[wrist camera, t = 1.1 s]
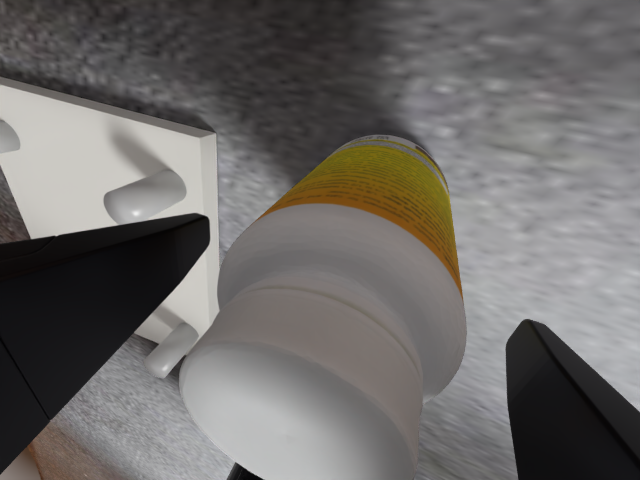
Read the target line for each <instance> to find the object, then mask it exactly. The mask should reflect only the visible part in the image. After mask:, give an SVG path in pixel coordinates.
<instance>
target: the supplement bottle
mask: <svg viewBox="0 0 640 480" xmlns="http://www.w3.org/2000/svg"><path fill="white" fill-rule="evenodd" d="M217 298H218V305H219V310H220V311H219V313H218V314H217V316H216V317H215V319H214V321H213V323H212V325H211V326H210V327H209V329H208V330H207V331H206V332H205V333H204V335H203V336H202V337H201V338H200V339H199V341H198V342H197V343H196V344H195V345H194V346H193V348H192V349H191V350H190V351H189V353H188V354H187V356H186V357H185V359H184V361H183V363H182V365H181V368H180V372H179V388H180V394H181V397H182V399H183V402H184V404H185V407H186V409H187V411H188V412H189V414H190V416H191V418H192V419H193V421H194V422H195V423H196V425H197V426H198V427H199V428H200V430H201V431H202V432H203V433H204V434H205V435H206V436H207V437H208V438H209V440H210V441H211V442H212V443H213V444H214V445H215V446H216V447H218V448H219V449H220V450H221V451H222V452H223V453H225V454H226V455H227V456H228V457H230V458H231V459H232V460H234V461H235V462H236V463H238V464H239V465H241V466H242V467H244V468H245V469H247V470H248V471H250V472H251V473H253V474H255V475H257V476H259V477H260V478H262V479H264V480H413V478H414V476H415V473H416V469H417V465H418V447H419V420H420V415H421V412H422V407H423V404H424V403H426V402H427V401H429V400H431V399H432V398H434V397H435V396H436V395H438V394H439V393H440V392H441V391H442V390H443V389H444V388H445V387H446V386H447V385H448V384H449V382H450V381H451V380H452V378H453V377H454V375H455V374H456V372H457V371H458V369H459V366H460V364H461V362H462V359H463V355H464V352H465V346H466V335H467V330H466V317H465V310H464V303H463V295H462V287H461V281H460V273H459V266H458V258H457V250H456V243H455V235H454V228H453V220H452V213H451V205H450V198H449V190H448V186H447V183H446V180H445V177H444V175H443V172H442V171H441V169H440V167H439V165H438V164H437V163H436V161H435V160H434V159H433V158H432V157H431V156H430V155H429V154H428V153H427V152H426V151H425V150H424V149H422V148H421V147H420V146H418V145H416V144H415V143H413V142H411V141H408V140H406V139H403V138H400V137H396V136H391V135H370V136H364V137H361V138H357V139H354V140H352V141H350V142H348V143H346V144H344V145H343V146H341V147H340V148H338V149H337V150H335V151H334V152H333V153H332V154H331V155H329V156H328V157H327V158H326V159H325V160H324V161H323V162H322V163H321V164H319V165H318V166H317V167H316V168H315V169H314V170H313V171H311V172H310V173H309V174H308V175H307V176H306V177H305V178H303V179H302V180H301V181H300V182H299V183H297V184H296V185H295V186H294V187H293V188H292V189H291V190H289V191H288V192H287V193H286V194H285V195H284V196H283V197H282V198H281V199H279V200H278V201H277V202H276V203H275V204H274V205H273V206H272V207H271V208H269V209H268V210H267V211H266V212H265V213H264V214H263V215H262V216H260V217H259V218H258V219H257V220H256V221H255V222H254V223H252V224H251V225H250V226H249V227H248V228H247V229H246V230H245V231H244V232H243V233H242V234H241V235H240V236H239V237H238V238H237V239H236V241H235V242H234V243H233V244H232V246H231V247H230V249H229V250H228V252H227V254H226V256H225V258H224V260H223V262H222V265H221V268H220V271H219V277H218V284H217Z"/></svg>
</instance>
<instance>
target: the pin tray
mask: <svg viewBox="0 0 640 480" xmlns="http://www.w3.org/2000/svg"><path fill="white" fill-rule="evenodd" d="M0 165H1V168H2V170H3V173H4V175H5V177H6V180H7V182H8V184H9V187H10V189H11V192H12V194H13V196H14V199H15V201H16V204H17V206H18V208H19V211H20V213H21V216H22V218H23V220H24V223H25V225H26V228H27V230H28V232H29V235H30V237H31V239H36V238H42V237H48V236H58V235H61V234H67V233H73V232H79V231H85V230H91V229H97V228H103V227H110V226H116V225H122V224H128V223H134V222H140V221H146V220H153V219H159V218H165V217H171V216H177V215H183V214H189V213H199V214H202V215H205V216H207V217H208V218H209V220H210V244H209V246H208V248H207V249H206V250H205V252H204V253H203V254H202V255H201V257H200V258H199V259H198V261H197V262H196V263H195V265H194V266H193V267H192V269H191V270H190V271H189V273H188V274H187V275H186V277H185V278H184V279H183V280H182V281H181V283H180V284H179V285H178V286H177V287H176V288H175V289H174V291H173V292H172V293H171V294H170V295H169V296H168V297H167V298H166V299H165V300H164V301H163V302H162V303H161V304H160V305H159V306H158V308H157V309H156V310H155V311H154V312H153V313H152V314H151V315H150V316H149V317H148V318H147V319H146V320H145V321H144V322H143V323H142V324H141V326H140V327H139V328H138V329H137V330H136V331H135V332H134V333H135V334H137V335H140V336H142V337H144V338H147V339H149V340H152V341H154V342H156V343H159V345H158V346H157V347H156V348H155V349H154V350H153V351H152V352H151V353H150V354H149V355H148V356H147V357H146V358H145V359H144V361H143V364H144V366H145V368H146V369H147V370H148V371H149V372H150V373H151V374H152V375H154V376H156V377H159V378H165V377H166V376H167V374H168V373H169V372H170V371H171V370H172V369H173V367H174V366H175V365H176V364H177V363H178V362H179V360H180V359H181V358H182V357H183V356H184V355H187V354H188V353H189V351H190V350H191V349H192V348H193V346H194V345H195V344H196V343H197V342H198V341H199V339H200V338H201V337H202V336H203V335H204V333H205V332H206V331H207V330H208V329H209V327H210V326H211V325H212V323H213V321H214V319H215V317H216V316H217V314H218V313H219V311H220V310H219V305H218V298H217V284H218V277H219V230H218V187H217V145H216V133H214V132H210V131H206V130H202V129H199V128H195V127H191V126H187V125H183V124H179V123H176V122H172V121H168V120H164V119H160V118H157V117H153V116H149V115H145V114H141V113H137V112H134V111H130V110H126V109H122V108H118V107H114V106H111V105H107V104H103V103H99V102H95V101H92V100H88V99H84V98H80V97H76V96H72V95H69V94H65V93H61V92H57V91H53V90H50V89H46V88H42V87H38V86H34V85H30V84H27V83H23V82H19V81H15V80H11V79H8V78H4V77H0Z"/></svg>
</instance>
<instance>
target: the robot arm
mask: <svg viewBox="0 0 640 480" xmlns="http://www.w3.org/2000/svg"><path fill="white" fill-rule="evenodd" d="M209 244H210V220H209V218H208V217H207V216H205V215H202V214H199V213H189V214H183V215H177V216H171V217H165V218H159V219H153V220H146V221H140V222H134V223H128V224H122V225H116V226H110V227H103V228H97V229H91V230H85V231H79V232H73V233H67V234H61V235H58V236H48V237H42V238H36V239H29V240H22V241H16V242H9V243H2V244H0V474H1V473H2V472H3V471H4V470H5V469H6V468H7V467H8V466H9V465H10V464H11V463H12V461H13V460H14V459H15V458H16V457H17V456H18V455H19V454H20V453H21V452H22V451H23V450H24V449H25V448H26V447H27V446H28V445H29V444H30V442H31V441H32V440H33V439H34V438H35V437H36V436H37V435H38V434H39V433H40V432H41V431H42V430H43V429H44V428H45V427H46V426H47V424H48V423H49V422H50V420H51V419H53V418H54V417H55V416H56V415H57V414H58V412H59V411H60V410H61V409H62V408H63V407H64V406H65V405H66V404H67V403H68V402H69V401H70V400H71V399H72V398H73V397H74V396H75V394H76V393H77V392H78V391H79V390H80V389H81V388H82V387H83V386H84V385H85V384H86V383H87V382H88V381H89V380H90V379H91V377H92V376H93V375H94V374H95V373H96V372H97V371H98V370H99V369H100V368H101V367H102V366H103V365H104V364H105V363H106V362H107V361H108V359H109V358H110V357H111V356H112V355H113V354H114V353H115V352H116V351H117V350H118V349H119V348H120V347H121V346H122V345H123V344H124V343H125V341H126V340H127V339H128V338H129V337H130V336H131V335H132V334H133V333H134V332H135V331H136V330H137V329H138V328H139V327H140V326H141V324H142V323H143V322H144V321H145V320H146V319H147V318H148V317H149V316H150V315H151V314H152V313H153V312H154V311H155V310H156V309H157V308H158V306H159V305H160V304H161V303H162V302H163V301H164V300H165V299H166V298H167V297H168V296H169V295H170V294H171V293H172V292H173V291H174V289H175V288H176V287H177V286H178V285H179V284H180V283H181V281H182V280H183V279H184V278H185V277H186V275H187V274H188V273H189V271H190V270H191V269H192V267H193V266H194V265H195V263H196V262H197V261H198V259H199V258H200V257H201V255H202V254H203V253H204V252H205V250H206V249H207V248H208V246H209ZM506 377H507V403H508V412H509V419H510V426H511V432H512V439H513V446H514V452H515V459H516V466H517V472H518V479H519V480H640V412H639V411H638V410H637V409H636V408H635V407H634V406H633V405H632V404H630V403H629V402H628V401H627V400H626V399H625V398H624V397H623V396H622V395H621V394H620V393H619V392H617V391H616V390H615V389H614V388H613V387H612V386H611V385H610V384H609V383H608V382H607V381H606V380H604V379H603V378H602V377H601V376H600V375H599V374H598V373H597V372H596V371H595V370H594V369H593V368H591V367H590V366H589V365H588V364H587V363H586V362H585V361H584V360H583V359H582V358H581V357H580V356H578V355H577V354H576V353H575V352H574V351H573V350H572V349H571V348H570V347H569V346H568V345H567V344H565V343H564V342H563V341H562V340H561V339H560V338H559V337H558V336H557V335H556V334H555V333H554V332H552V331H551V330H550V329H549V328H548V327H547V326H546V325H544V324H542V323H539V322H536V321H533V320H530V319H525V320H523V321H522V322H521V323H520V324H519V326H518V327H517V328H516V330H515V331H514V332H513V334H512V335H511V336H510V338H509V339H508V341H507V344H506ZM227 480H264V479H262V478H260V477H259V476H257V475H255V474H253V473H251V472H250V471H248V470H247V469H245V468H244V467H242V466H241V465H239V464H238V463H236V462H235V464H234V466H233V468H232V470H231V472H230V474H229V476H228V478H227Z"/></svg>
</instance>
